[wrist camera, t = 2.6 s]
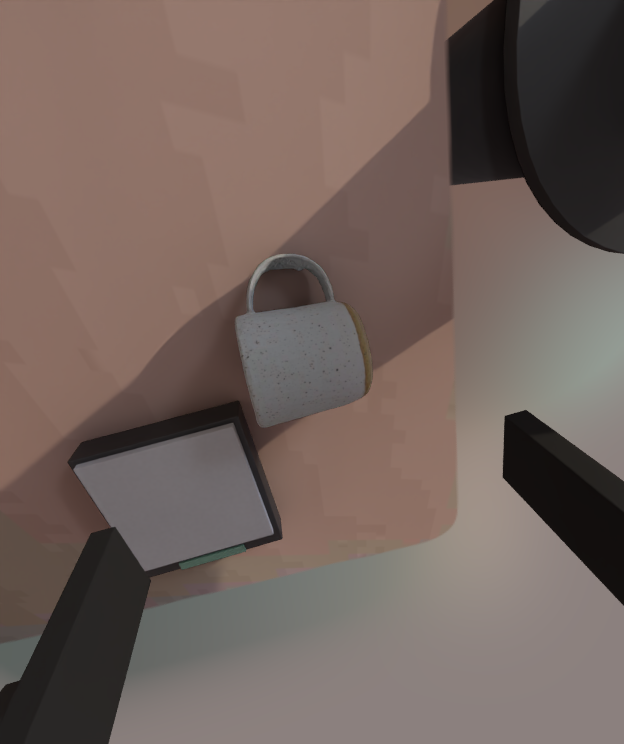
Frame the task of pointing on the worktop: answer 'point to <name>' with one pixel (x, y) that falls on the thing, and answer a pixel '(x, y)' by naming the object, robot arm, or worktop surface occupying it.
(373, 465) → the worktop surface
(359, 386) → the ceramic mug
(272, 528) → the kitchen scale
